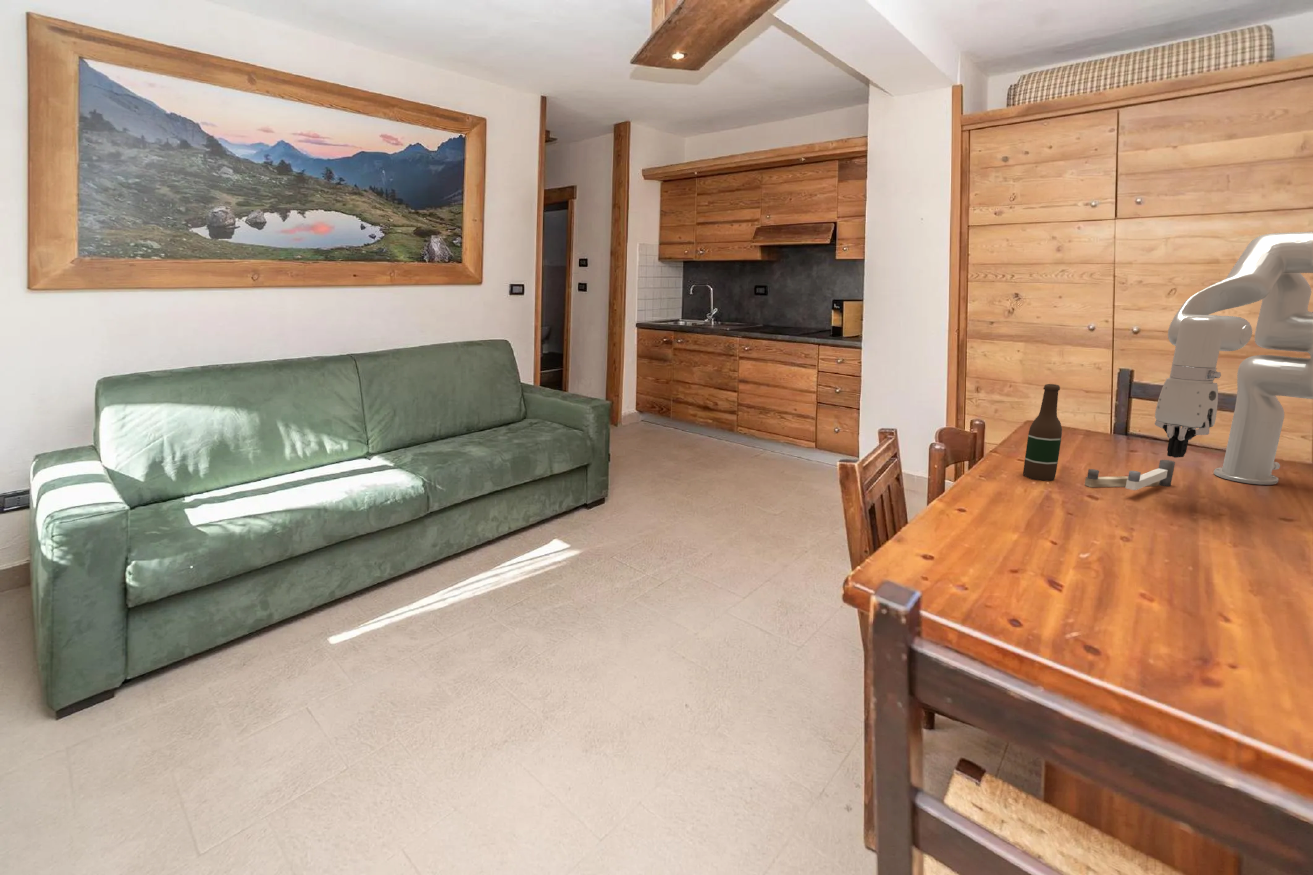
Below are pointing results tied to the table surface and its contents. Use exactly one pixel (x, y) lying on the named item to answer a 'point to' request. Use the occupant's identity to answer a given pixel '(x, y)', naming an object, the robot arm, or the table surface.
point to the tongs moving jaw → (1144, 478)
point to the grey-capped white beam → (1120, 481)
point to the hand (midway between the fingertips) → (1175, 456)
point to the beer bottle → (1044, 439)
